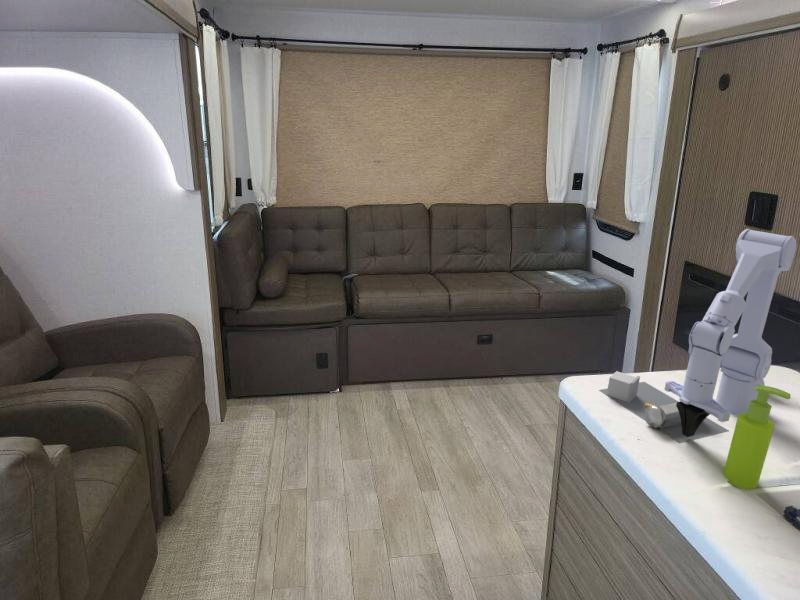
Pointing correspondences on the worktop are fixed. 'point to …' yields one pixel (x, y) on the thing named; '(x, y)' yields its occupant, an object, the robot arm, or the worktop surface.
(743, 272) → the robot arm
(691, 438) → the duct board
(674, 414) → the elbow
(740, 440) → the soap dispenser
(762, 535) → the worktop surface
